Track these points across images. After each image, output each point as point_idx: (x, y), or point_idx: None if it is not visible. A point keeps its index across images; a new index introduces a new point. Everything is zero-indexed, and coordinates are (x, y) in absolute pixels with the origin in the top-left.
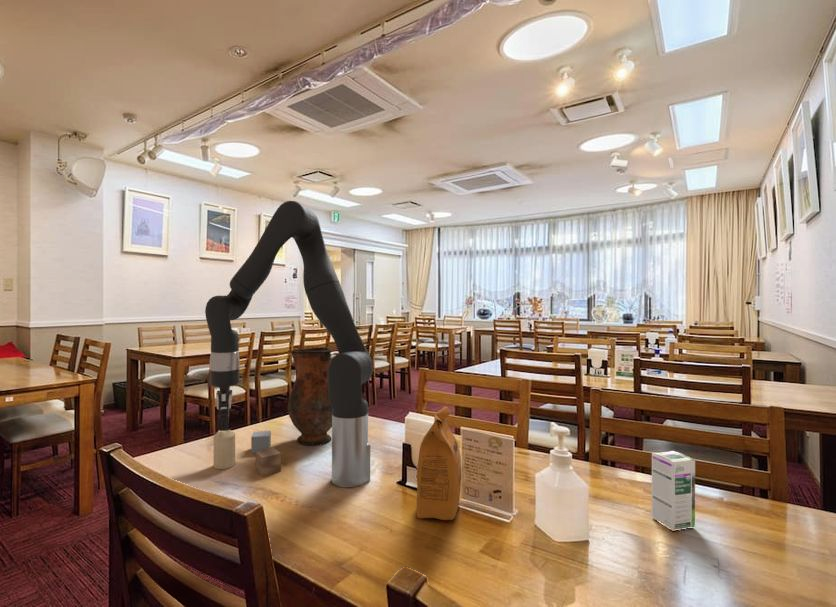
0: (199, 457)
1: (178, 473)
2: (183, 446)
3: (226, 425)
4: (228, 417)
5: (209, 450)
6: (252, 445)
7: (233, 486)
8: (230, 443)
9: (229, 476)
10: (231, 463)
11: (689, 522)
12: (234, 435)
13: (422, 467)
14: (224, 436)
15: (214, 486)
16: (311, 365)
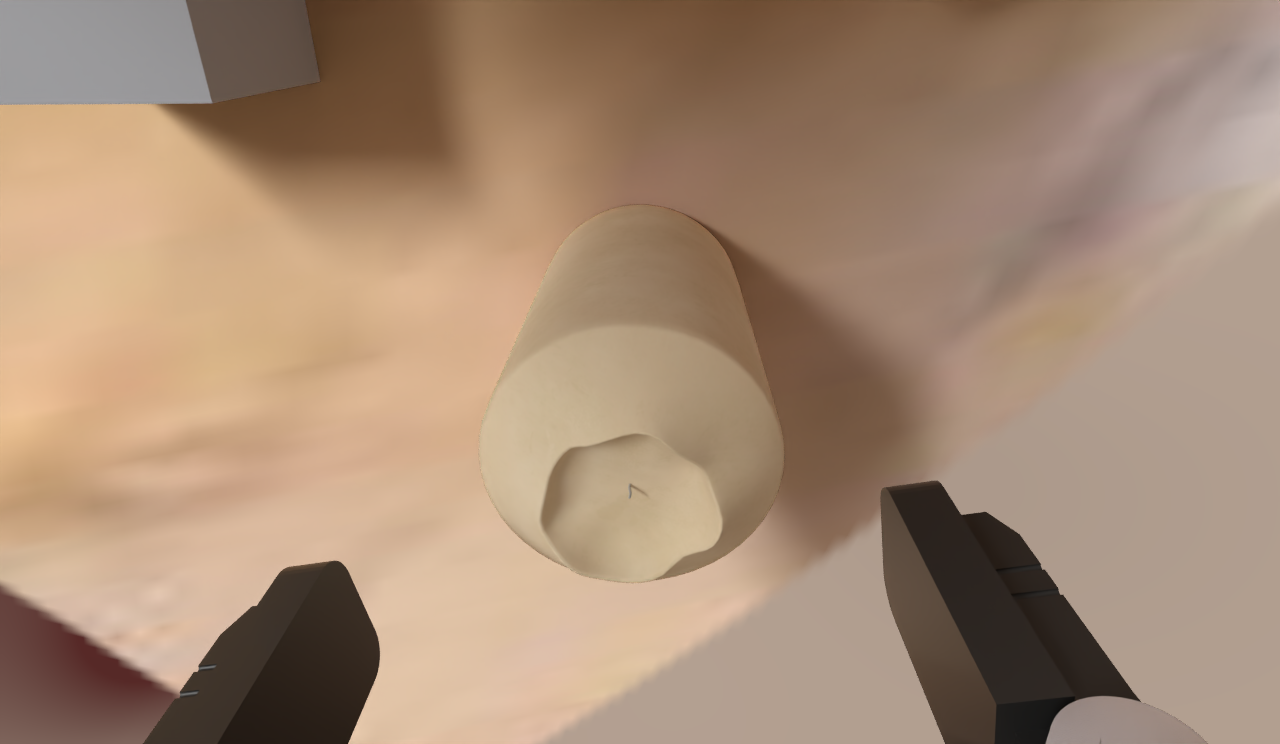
0: (416, 527)
1: (727, 584)
2: (174, 673)
3: (997, 555)
4: (310, 605)
5: (251, 491)
6: (273, 74)
7: (1199, 113)
8: (739, 327)
9: (930, 200)
10: (708, 235)
11: None
12: (666, 324)
13: None
14: (766, 454)
15: (1108, 286)
16: None
